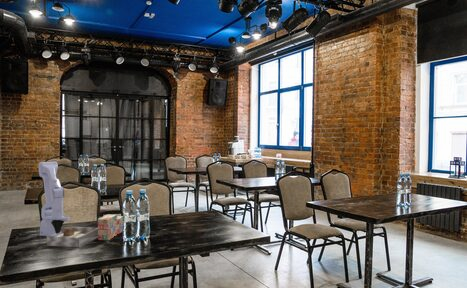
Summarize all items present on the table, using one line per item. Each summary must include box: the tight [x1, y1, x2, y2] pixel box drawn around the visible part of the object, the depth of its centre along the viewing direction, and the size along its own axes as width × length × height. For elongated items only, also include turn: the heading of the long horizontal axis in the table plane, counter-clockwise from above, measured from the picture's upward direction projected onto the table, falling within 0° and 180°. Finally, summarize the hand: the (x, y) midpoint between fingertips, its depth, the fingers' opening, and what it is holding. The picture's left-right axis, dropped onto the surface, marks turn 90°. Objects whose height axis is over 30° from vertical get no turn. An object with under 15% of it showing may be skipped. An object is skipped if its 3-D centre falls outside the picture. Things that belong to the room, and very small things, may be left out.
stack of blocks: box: [97, 213, 125, 241], centre depth 220 cm, size 21×6×12 cm, turn 173°
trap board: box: [46, 226, 98, 248], centre depth 208 cm, size 19×21×5 cm
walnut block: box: [63, 226, 74, 236], centre depth 209 cm, size 4×4×4 cm
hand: (57, 233), depth 210 cm, fingers closed
